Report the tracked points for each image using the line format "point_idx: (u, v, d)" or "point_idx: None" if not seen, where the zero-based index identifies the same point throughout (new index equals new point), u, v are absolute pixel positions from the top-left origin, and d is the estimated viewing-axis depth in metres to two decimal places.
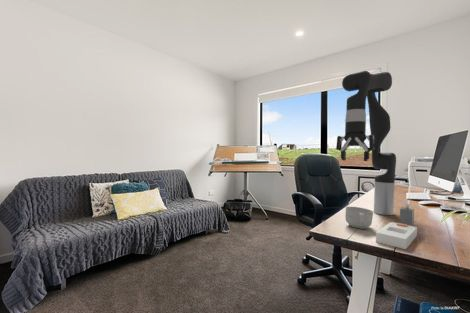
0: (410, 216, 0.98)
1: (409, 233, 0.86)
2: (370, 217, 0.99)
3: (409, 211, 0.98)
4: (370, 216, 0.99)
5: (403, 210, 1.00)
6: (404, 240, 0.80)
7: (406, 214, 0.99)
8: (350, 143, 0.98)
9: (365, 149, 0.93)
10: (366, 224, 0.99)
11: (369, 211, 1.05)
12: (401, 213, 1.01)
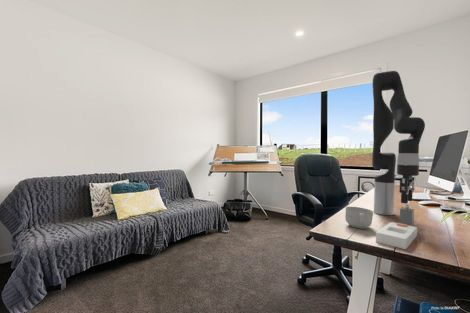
0: (410, 216, 0.98)
1: (409, 233, 0.86)
2: (370, 217, 0.99)
3: (409, 211, 0.98)
4: (370, 216, 0.99)
5: (403, 210, 1.00)
6: (404, 240, 0.80)
7: (406, 214, 0.99)
8: None
9: (412, 190, 1.03)
10: (366, 224, 0.99)
11: (369, 211, 1.05)
12: (401, 213, 1.01)
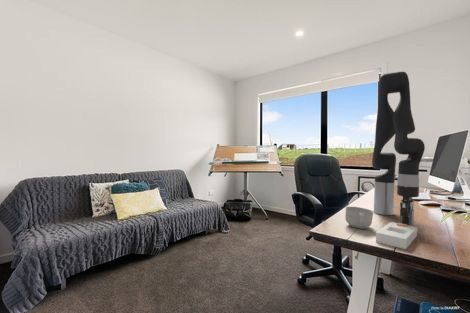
0: (410, 216, 0.98)
1: (409, 233, 0.86)
2: (370, 217, 0.99)
3: None
4: (370, 216, 0.99)
5: None
6: (404, 240, 0.80)
7: None
8: None
9: None
10: (366, 224, 0.99)
11: (369, 211, 1.05)
12: None
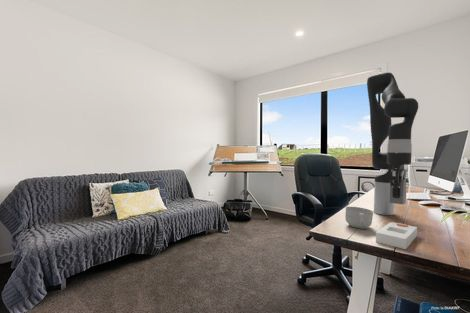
0: (401, 186, 0.86)
1: (409, 233, 0.86)
2: (370, 217, 0.99)
3: None
4: (370, 216, 0.99)
5: None
6: (404, 240, 0.80)
7: None
8: None
9: None
10: (366, 224, 0.99)
11: (369, 211, 1.05)
12: None
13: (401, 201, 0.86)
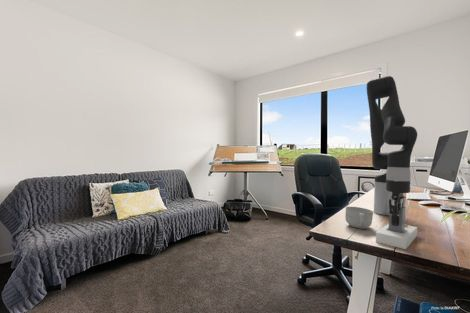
0: (400, 214, 0.86)
1: (409, 233, 0.86)
2: (370, 217, 0.99)
3: None
4: (370, 216, 0.99)
5: None
6: (404, 240, 0.80)
7: None
8: None
9: None
10: (366, 224, 0.99)
11: (369, 211, 1.05)
12: None
13: (400, 229, 0.87)
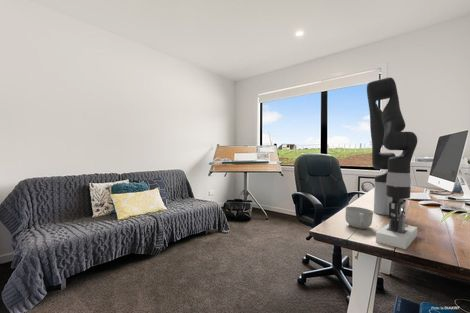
0: (400, 224, 0.87)
1: (409, 233, 0.86)
2: (370, 217, 0.99)
3: (399, 218, 0.87)
4: (370, 216, 0.99)
5: None
6: (404, 240, 0.80)
7: None
8: None
9: (403, 215, 0.91)
10: (366, 224, 0.99)
11: (369, 211, 1.05)
12: (390, 220, 0.89)
13: None
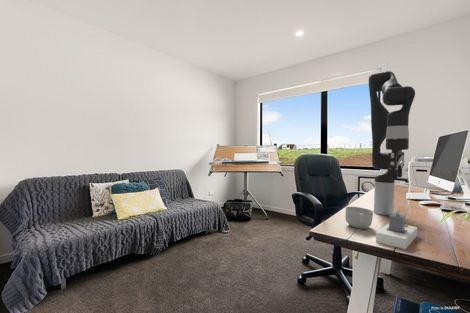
0: (400, 224, 0.87)
1: (409, 233, 0.86)
2: (370, 217, 0.99)
3: (399, 218, 0.87)
4: (370, 216, 0.99)
5: (393, 217, 0.88)
6: (404, 240, 0.80)
7: (396, 222, 0.88)
8: None
9: (402, 166, 0.97)
10: (366, 224, 0.99)
11: (369, 211, 1.05)
12: (390, 220, 0.89)
13: None
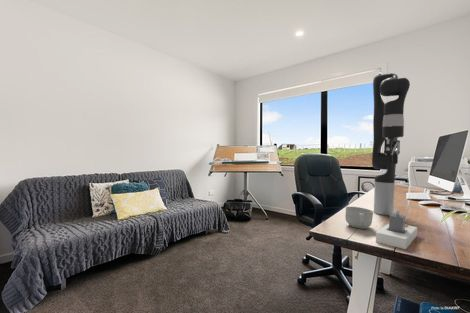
0: (400, 224, 0.87)
1: (409, 233, 0.86)
2: (370, 217, 0.99)
3: (399, 218, 0.87)
4: (370, 216, 0.99)
5: (393, 217, 0.88)
6: (404, 240, 0.80)
7: (396, 222, 0.88)
8: None
9: (398, 153, 1.03)
10: (366, 224, 0.99)
11: (369, 211, 1.05)
12: (390, 220, 0.89)
13: None
